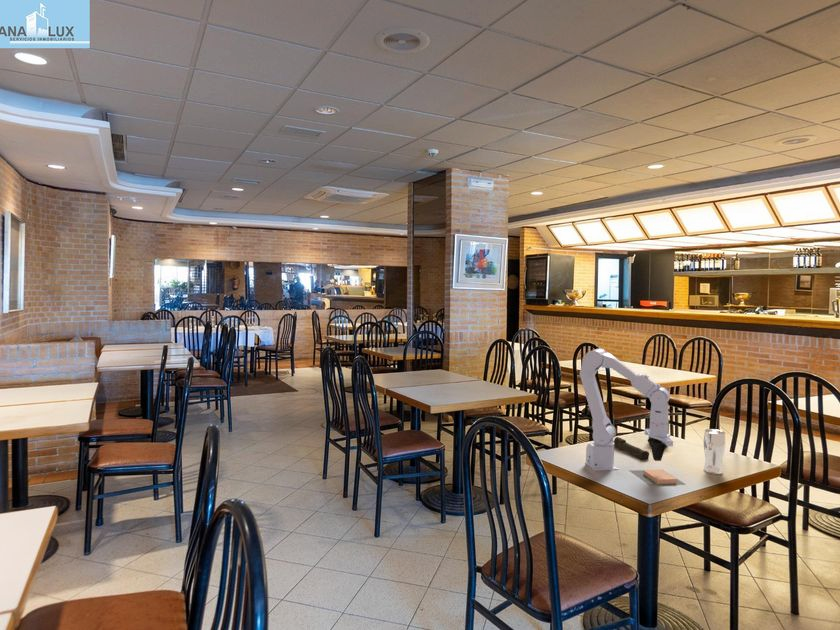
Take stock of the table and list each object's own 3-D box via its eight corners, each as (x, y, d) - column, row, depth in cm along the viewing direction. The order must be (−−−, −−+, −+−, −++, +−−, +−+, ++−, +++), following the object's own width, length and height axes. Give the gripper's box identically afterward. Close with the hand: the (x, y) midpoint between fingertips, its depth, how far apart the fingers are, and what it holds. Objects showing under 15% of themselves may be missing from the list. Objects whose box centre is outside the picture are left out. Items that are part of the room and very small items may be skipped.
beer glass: (711, 467, 194) (713, 428, 194) (728, 473, 188) (730, 433, 187) (697, 469, 192) (699, 429, 191) (714, 475, 185) (716, 434, 185)
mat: (650, 486, 175) (650, 485, 175) (629, 471, 189) (629, 470, 189) (686, 485, 176) (686, 484, 176) (662, 470, 190) (662, 469, 190)
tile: (643, 474, 185) (657, 484, 176) (643, 470, 184) (657, 479, 175) (661, 474, 185) (676, 483, 176) (661, 469, 185) (676, 479, 176)
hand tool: (649, 461, 201) (650, 449, 201) (640, 461, 200) (641, 449, 200) (619, 446, 219) (620, 435, 219) (611, 446, 218) (611, 436, 218)
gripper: (682, 427, 174) (680, 467, 175) (658, 416, 189) (656, 453, 190) (662, 428, 174) (660, 467, 174) (639, 417, 188) (638, 453, 189)
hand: (657, 460), depth 182 cm, fingers closed
